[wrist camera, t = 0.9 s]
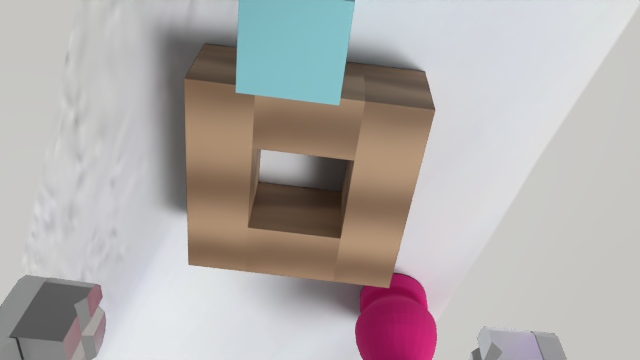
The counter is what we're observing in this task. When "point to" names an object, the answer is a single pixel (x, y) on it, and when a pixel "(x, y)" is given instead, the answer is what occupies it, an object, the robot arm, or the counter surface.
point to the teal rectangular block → (293, 48)
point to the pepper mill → (395, 322)
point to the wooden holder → (297, 202)
